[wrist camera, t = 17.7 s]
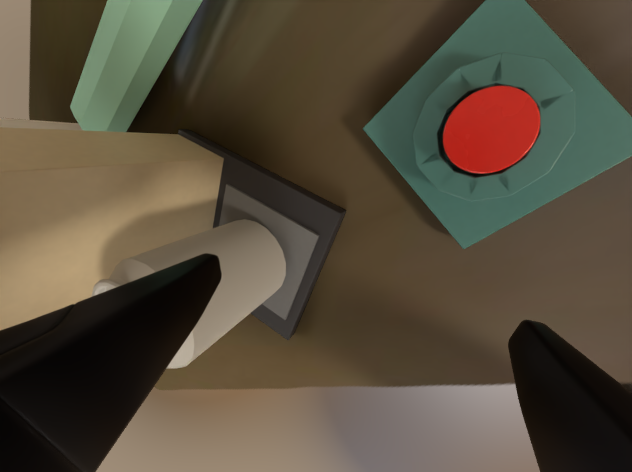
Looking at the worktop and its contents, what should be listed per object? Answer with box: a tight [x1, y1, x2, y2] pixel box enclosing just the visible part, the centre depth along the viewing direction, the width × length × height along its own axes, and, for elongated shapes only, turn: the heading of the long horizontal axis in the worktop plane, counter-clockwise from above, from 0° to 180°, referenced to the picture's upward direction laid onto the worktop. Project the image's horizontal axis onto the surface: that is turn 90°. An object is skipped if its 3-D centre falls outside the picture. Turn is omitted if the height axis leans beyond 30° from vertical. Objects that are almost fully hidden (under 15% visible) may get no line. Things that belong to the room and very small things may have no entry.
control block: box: [363, 0, 632, 249], centre depth 14 cm, size 10×9×4 cm
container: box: [70, 0, 203, 132], centre depth 22 cm, size 6×6×25 cm
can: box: [92, 219, 286, 368], centre depth 20 cm, size 8×8×12 cm
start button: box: [443, 86, 541, 174], centre depth 12 cm, size 4×4×2 cm
